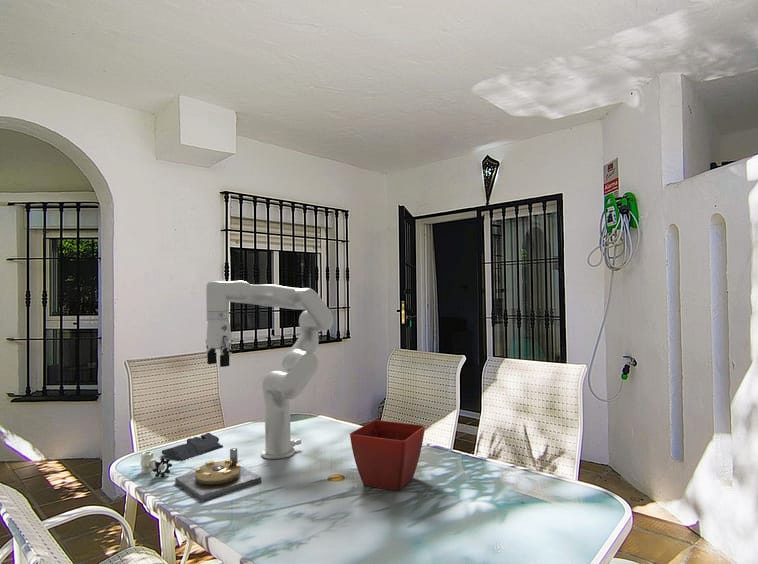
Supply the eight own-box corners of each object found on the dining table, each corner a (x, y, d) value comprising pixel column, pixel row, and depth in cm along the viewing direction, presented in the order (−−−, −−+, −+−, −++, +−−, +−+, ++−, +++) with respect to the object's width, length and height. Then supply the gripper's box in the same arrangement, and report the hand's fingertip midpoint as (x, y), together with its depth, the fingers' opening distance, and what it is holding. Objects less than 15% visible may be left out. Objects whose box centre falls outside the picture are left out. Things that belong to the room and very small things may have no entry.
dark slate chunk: (155, 456, 186) (155, 444, 186) (203, 441, 205) (203, 430, 205) (180, 463, 178) (180, 450, 178) (227, 447, 197) (227, 435, 197)
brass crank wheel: (207, 488, 148) (206, 463, 148) (188, 476, 158) (188, 453, 158) (248, 476, 158) (248, 452, 158) (228, 465, 168) (228, 443, 168)
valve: (134, 473, 167) (154, 480, 161) (134, 454, 168) (153, 460, 161) (153, 467, 173) (172, 474, 166) (152, 449, 173) (172, 455, 166)
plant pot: (426, 475, 161) (425, 424, 161) (405, 498, 144) (404, 441, 144) (375, 467, 169) (374, 419, 169) (349, 488, 152) (348, 434, 152)
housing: (232, 467, 172) (232, 459, 172) (261, 482, 158) (261, 473, 158) (175, 483, 158) (175, 474, 158) (201, 501, 144) (201, 492, 144)
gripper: (239, 316, 166) (240, 366, 166) (216, 315, 179) (217, 361, 178) (218, 317, 161) (219, 368, 161) (196, 316, 173) (197, 364, 173)
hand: (218, 365), depth 169 cm, fingers open, 9 cm apart
